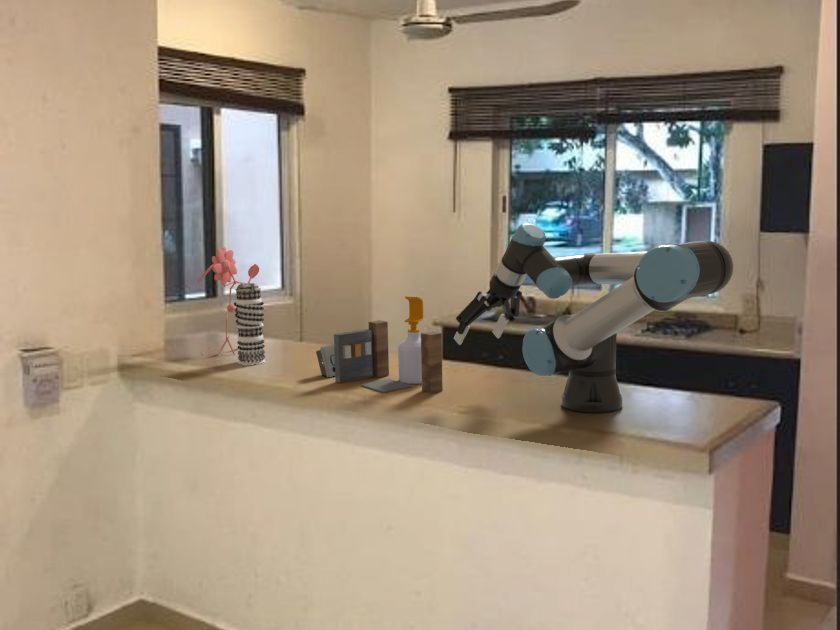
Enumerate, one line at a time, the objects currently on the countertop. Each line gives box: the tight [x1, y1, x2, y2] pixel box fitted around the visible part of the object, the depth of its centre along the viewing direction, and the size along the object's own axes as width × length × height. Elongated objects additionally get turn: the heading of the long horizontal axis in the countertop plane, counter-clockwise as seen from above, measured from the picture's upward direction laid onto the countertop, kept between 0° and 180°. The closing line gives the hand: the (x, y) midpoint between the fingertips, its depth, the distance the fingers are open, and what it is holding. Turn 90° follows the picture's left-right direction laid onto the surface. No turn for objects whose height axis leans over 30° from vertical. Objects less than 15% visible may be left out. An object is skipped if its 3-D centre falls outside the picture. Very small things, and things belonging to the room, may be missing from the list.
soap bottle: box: [397, 296, 424, 385], centre depth 270 cm, size 9×9×25 cm
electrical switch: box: [315, 343, 335, 378], centre depth 282 cm, size 9×5×9 cm, turn 141°
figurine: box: [197, 246, 266, 355], centre depth 318 cm, size 15×26×35 cm, turn 150°
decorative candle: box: [233, 282, 266, 366], centre depth 299 cm, size 9×9×25 cm
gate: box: [368, 319, 443, 394], centre depth 268 cm, size 29×4×16 cm, turn 38°
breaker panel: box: [333, 328, 374, 384], centre depth 273 cm, size 4×12×14 cm, turn 128°
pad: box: [360, 378, 413, 394], centre depth 266 cm, size 11×10×1 cm
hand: (476, 338), depth 253 cm, fingers open, 13 cm apart
